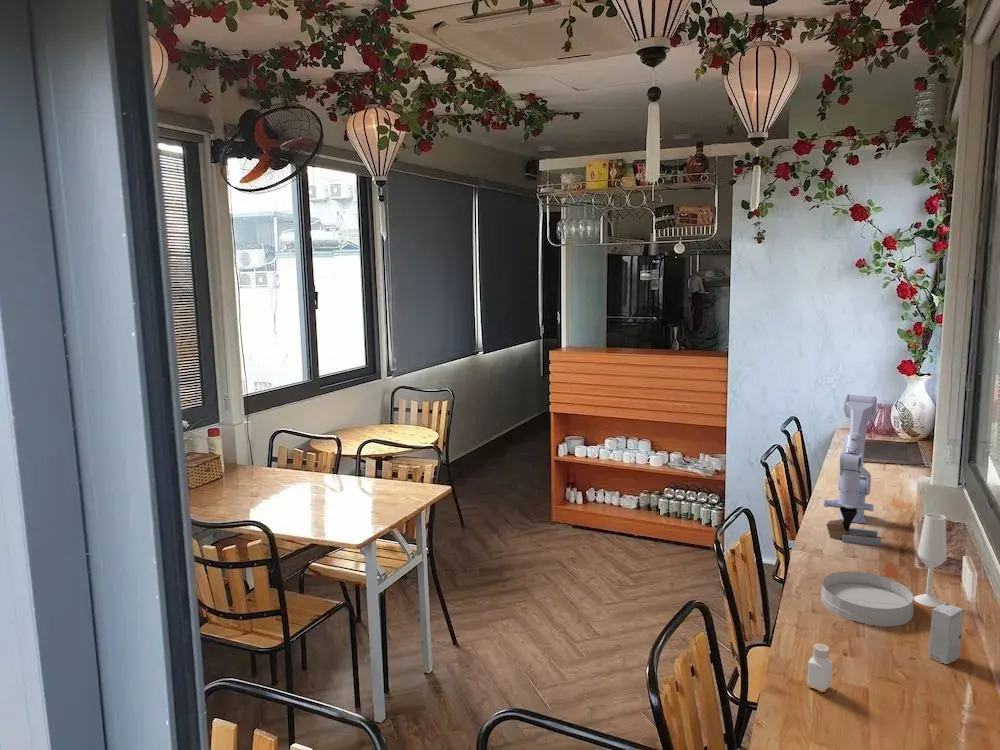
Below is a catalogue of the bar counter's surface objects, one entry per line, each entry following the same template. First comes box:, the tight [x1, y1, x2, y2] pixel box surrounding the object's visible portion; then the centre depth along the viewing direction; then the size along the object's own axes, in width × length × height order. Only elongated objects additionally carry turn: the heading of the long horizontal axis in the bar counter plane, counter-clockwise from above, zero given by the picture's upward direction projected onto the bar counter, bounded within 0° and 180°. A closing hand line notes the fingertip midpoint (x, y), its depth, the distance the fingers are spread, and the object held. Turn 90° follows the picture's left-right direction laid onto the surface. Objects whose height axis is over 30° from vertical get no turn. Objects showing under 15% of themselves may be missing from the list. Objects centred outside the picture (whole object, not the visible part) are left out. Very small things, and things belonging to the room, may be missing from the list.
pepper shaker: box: [806, 643, 833, 690], centre depth 160 cm, size 4×4×10 cm
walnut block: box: [826, 518, 850, 540], centre depth 243 cm, size 4×5×5 cm
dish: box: [820, 570, 914, 627], centre depth 197 cm, size 22×22×5 cm
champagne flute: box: [913, 512, 948, 608], centre depth 197 cm, size 7×7×24 cm
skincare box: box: [928, 602, 964, 665], centre depth 171 cm, size 6×4×12 cm
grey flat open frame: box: [841, 527, 881, 547], centre depth 241 cm, size 8×11×2 cm
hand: (846, 529), depth 241 cm, fingers closed, pressing on walnut block
